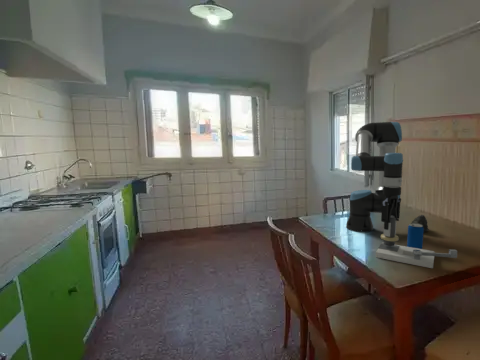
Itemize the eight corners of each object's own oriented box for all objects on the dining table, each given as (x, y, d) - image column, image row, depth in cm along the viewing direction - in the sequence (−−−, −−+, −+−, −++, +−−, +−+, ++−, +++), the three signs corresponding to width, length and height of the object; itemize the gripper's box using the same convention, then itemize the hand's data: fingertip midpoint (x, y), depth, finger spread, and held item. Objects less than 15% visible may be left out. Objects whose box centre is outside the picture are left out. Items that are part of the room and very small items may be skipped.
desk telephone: (375, 257, 134) (376, 248, 133) (381, 247, 146) (382, 239, 145) (432, 268, 121) (433, 258, 121) (434, 256, 133) (435, 247, 133)
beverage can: (408, 245, 148) (409, 222, 146) (423, 248, 144) (424, 224, 142) (405, 249, 143) (407, 225, 141) (421, 252, 139) (422, 227, 137)
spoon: (411, 252, 127) (412, 246, 127) (454, 255, 123) (454, 248, 123) (414, 255, 124) (414, 249, 123) (457, 258, 120) (458, 251, 119)
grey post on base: (379, 245, 138) (380, 216, 136) (382, 240, 144) (383, 213, 142) (397, 248, 133) (398, 219, 132) (399, 243, 140) (400, 215, 138)
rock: (433, 230, 162) (426, 213, 165) (414, 234, 164) (408, 217, 167) (426, 232, 173) (420, 215, 176) (409, 235, 175) (403, 219, 178)
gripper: (390, 189, 127) (387, 240, 130) (409, 185, 137) (407, 233, 140) (373, 187, 133) (371, 236, 136) (393, 183, 143) (391, 229, 146)
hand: (389, 234), depth 138 cm, fingers closed on grey post on base, 4 cm apart
